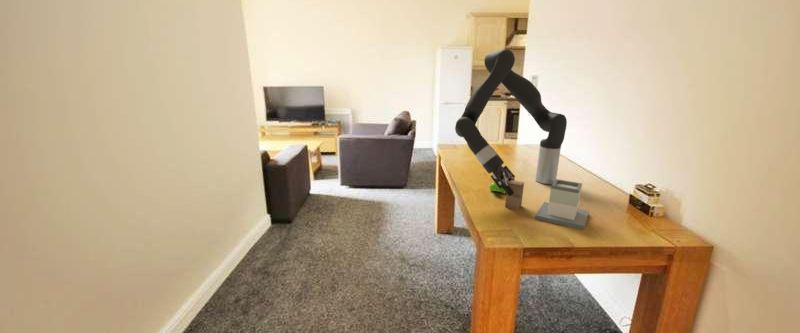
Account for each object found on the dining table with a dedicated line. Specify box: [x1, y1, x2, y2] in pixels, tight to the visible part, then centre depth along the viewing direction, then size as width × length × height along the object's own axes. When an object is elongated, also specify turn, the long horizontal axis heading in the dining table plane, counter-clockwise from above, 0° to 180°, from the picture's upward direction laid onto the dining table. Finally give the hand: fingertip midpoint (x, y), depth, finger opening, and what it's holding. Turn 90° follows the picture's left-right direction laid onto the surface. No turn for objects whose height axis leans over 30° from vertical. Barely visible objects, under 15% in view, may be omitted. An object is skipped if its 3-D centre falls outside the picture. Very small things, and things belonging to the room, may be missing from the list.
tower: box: [534, 178, 590, 231], centre depth 131 cm, size 16×16×13 cm
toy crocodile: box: [489, 181, 508, 194], centre depth 161 cm, size 20×7×6 cm, turn 145°
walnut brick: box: [504, 180, 525, 211], centre depth 141 cm, size 5×5×10 cm
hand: (515, 191), depth 140 cm, fingers open, 8 cm apart
